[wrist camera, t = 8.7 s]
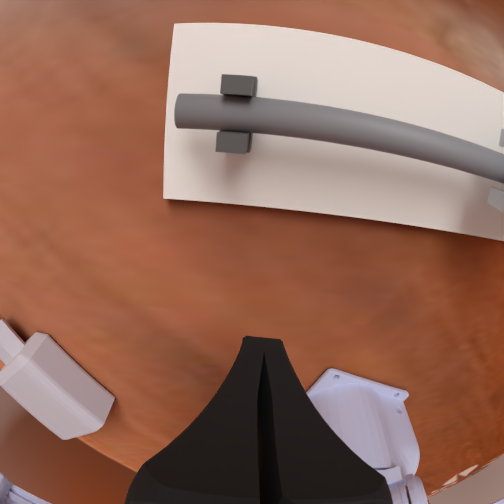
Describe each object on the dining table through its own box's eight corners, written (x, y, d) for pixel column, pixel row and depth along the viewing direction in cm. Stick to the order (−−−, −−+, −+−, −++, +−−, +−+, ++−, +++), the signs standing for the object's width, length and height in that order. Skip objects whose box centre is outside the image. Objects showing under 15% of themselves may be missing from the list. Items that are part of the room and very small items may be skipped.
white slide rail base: (562, 131, 15) (610, 145, 9) (537, 244, 19) (578, 275, 14) (178, 27, 14) (145, -1, 9) (168, 193, 19) (133, 227, 14)
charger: (7, 279, 22) (117, 393, 27) (-19, 318, 25) (74, 411, 30) (-24, 307, 18) (102, 430, 23) (-43, 343, 20) (59, 441, 25)
